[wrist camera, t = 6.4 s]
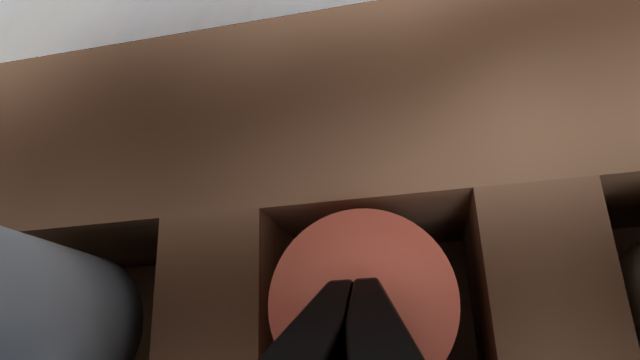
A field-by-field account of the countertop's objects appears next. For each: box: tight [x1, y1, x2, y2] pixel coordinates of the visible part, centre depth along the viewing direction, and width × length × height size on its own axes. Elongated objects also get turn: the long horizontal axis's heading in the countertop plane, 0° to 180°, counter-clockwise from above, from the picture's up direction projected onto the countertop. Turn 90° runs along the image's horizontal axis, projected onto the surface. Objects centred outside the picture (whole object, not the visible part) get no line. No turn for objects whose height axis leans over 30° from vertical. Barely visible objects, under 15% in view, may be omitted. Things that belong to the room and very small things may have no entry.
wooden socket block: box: [0, 0, 640, 360], centre depth 14 cm, size 10×22×6 cm, turn 92°
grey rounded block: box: [0, 226, 143, 360], centre depth 10 cm, size 3×3×4 cm
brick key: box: [268, 208, 460, 360], centre depth 11 cm, size 3×3×4 cm
